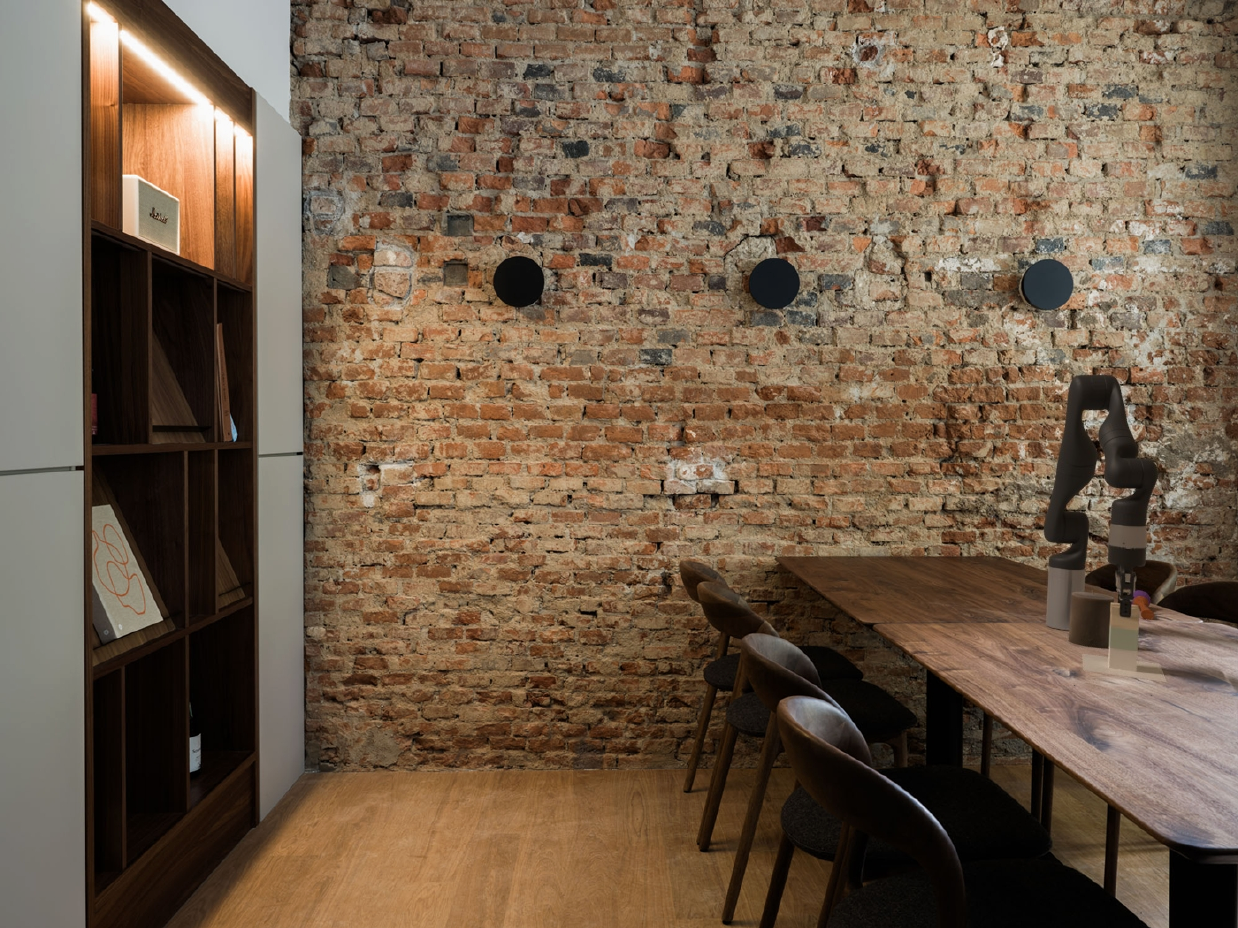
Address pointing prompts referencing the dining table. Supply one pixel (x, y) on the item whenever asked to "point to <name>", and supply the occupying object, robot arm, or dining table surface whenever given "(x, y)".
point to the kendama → (1143, 604)
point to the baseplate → (1143, 670)
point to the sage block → (1123, 639)
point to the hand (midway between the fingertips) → (1123, 613)
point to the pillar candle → (1090, 619)
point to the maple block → (1124, 622)
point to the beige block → (1122, 659)
